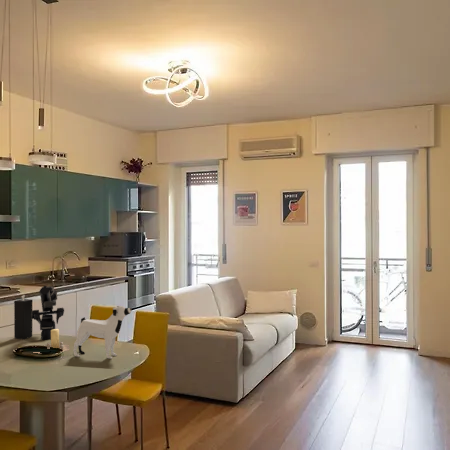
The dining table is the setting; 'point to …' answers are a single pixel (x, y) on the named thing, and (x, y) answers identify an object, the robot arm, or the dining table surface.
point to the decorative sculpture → (101, 330)
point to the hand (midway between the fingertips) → (49, 324)
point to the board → (61, 346)
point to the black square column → (22, 318)
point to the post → (55, 338)
